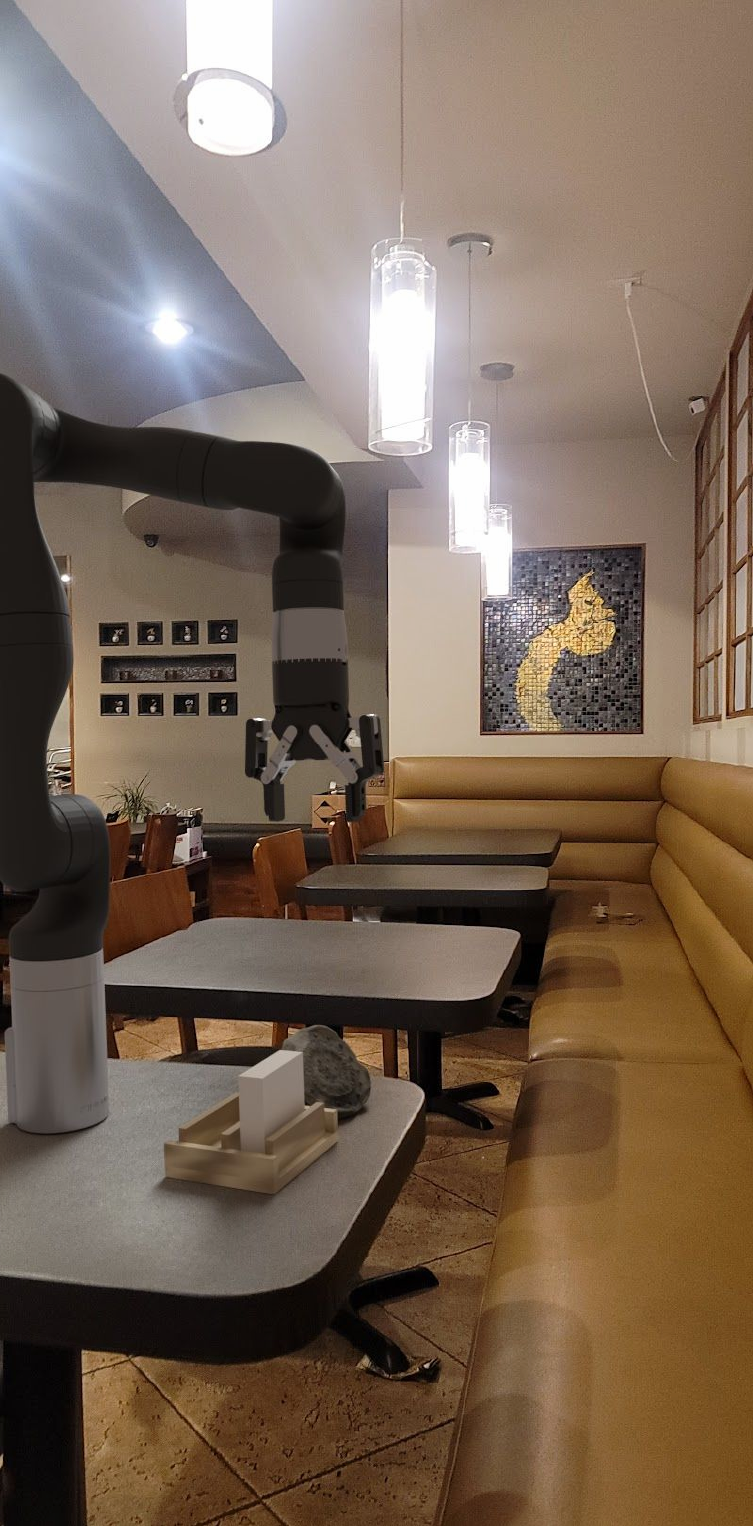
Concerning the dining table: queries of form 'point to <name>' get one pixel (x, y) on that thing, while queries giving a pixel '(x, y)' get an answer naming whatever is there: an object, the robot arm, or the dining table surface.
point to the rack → (219, 1160)
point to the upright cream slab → (270, 1098)
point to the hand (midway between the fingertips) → (315, 821)
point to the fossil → (330, 1070)
